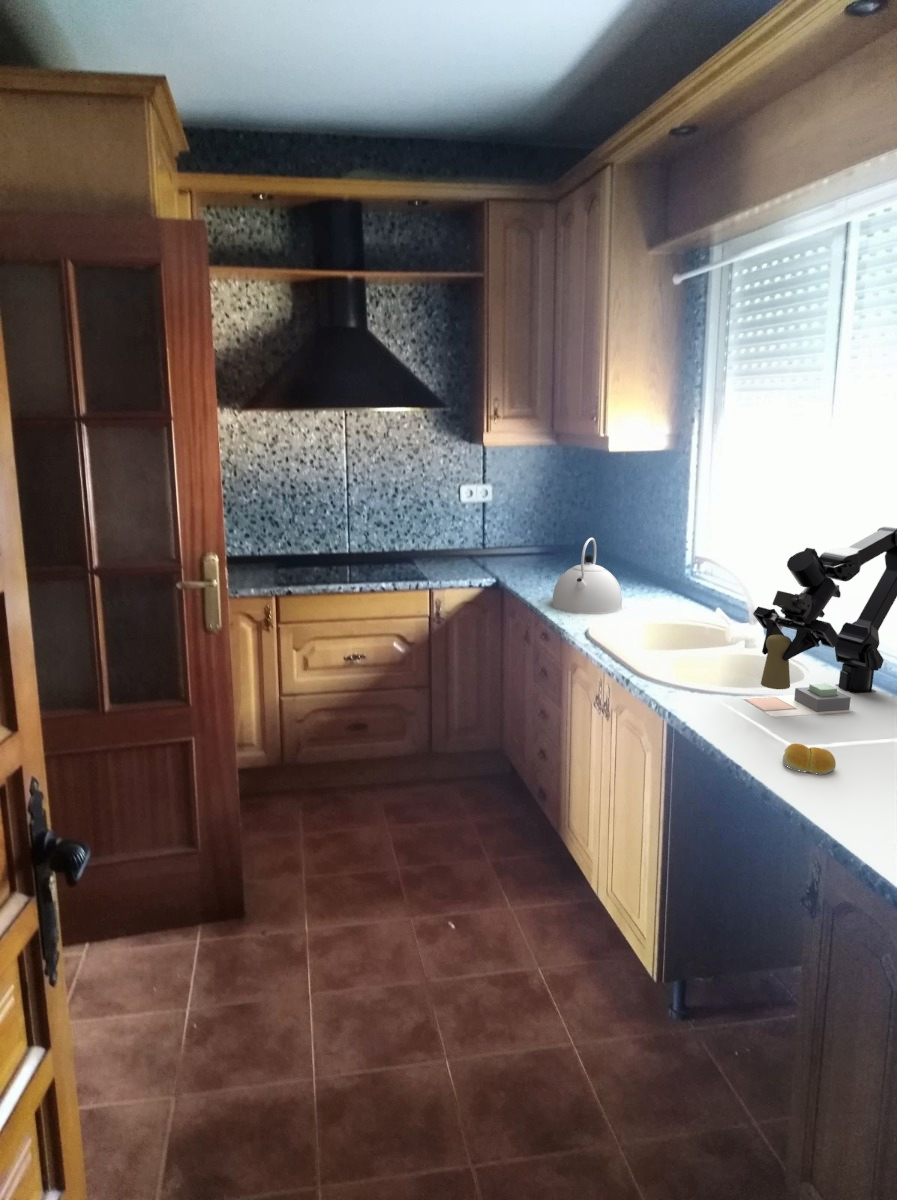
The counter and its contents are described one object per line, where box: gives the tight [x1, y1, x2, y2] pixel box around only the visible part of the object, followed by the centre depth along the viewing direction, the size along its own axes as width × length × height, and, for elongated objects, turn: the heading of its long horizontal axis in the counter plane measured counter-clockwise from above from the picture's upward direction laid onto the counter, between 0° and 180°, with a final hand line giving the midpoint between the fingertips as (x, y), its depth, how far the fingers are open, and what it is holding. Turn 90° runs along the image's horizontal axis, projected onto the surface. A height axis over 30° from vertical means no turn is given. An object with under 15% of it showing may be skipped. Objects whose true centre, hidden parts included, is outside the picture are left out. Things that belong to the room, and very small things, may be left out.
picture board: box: [743, 686, 853, 718], centre depth 192 cm, size 19×12×3 cm, turn 103°
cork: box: [760, 634, 793, 690], centre depth 188 cm, size 6×6×11 cm
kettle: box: [551, 537, 623, 615], centre depth 284 cm, size 25×23×22 cm
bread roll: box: [782, 743, 837, 775], centre depth 160 cm, size 8×9×4 cm
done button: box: [808, 682, 838, 697], centre depth 191 cm, size 4×4×2 cm
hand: (773, 656), depth 187 cm, fingers closed on cork, 5 cm apart
